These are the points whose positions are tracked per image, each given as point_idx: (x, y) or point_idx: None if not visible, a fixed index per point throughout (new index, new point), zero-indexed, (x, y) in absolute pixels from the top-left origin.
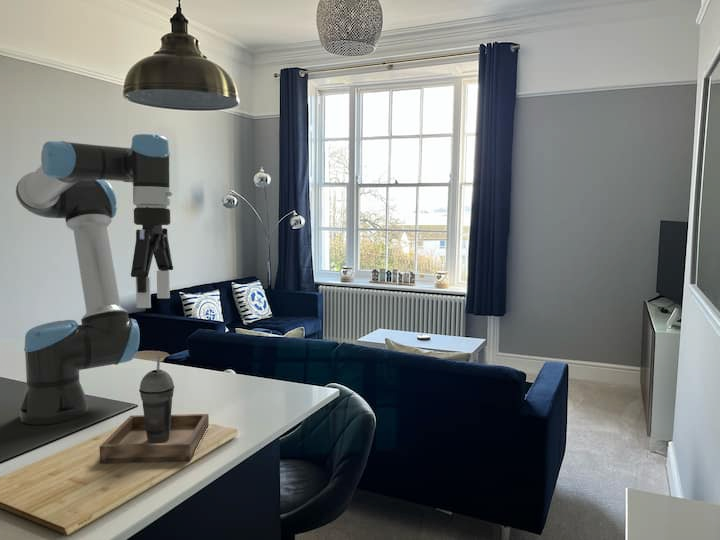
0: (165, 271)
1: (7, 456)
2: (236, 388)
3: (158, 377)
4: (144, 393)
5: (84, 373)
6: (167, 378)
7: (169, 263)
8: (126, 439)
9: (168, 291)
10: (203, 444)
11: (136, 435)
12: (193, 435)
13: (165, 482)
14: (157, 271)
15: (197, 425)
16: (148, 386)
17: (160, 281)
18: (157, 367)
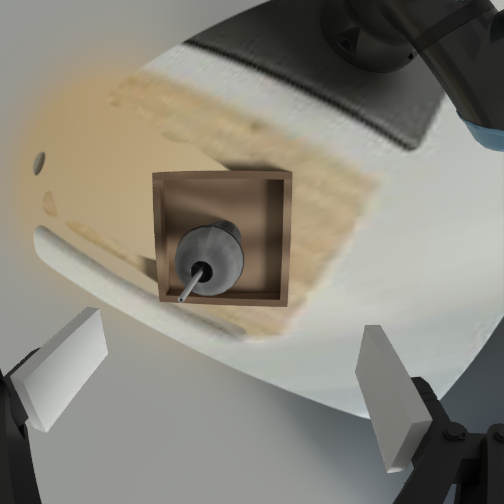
0: (392, 459)
1: (196, 35)
2: (464, 303)
3: (181, 278)
4: (178, 243)
5: None
6: (194, 292)
7: (457, 486)
8: (228, 184)
9: (363, 390)
10: None
11: (244, 195)
12: (191, 300)
13: (112, 274)
14: (409, 423)
15: (232, 299)
16: (175, 255)
17: (383, 394)
18: (191, 280)
